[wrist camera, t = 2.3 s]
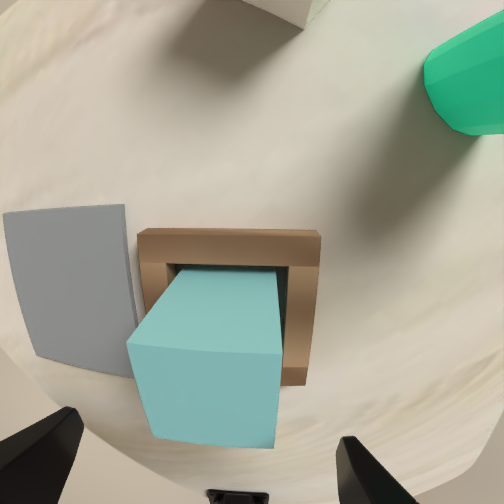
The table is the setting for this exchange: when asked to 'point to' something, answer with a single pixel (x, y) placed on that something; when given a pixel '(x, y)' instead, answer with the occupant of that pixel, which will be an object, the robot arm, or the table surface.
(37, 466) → the robot arm
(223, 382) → the teal rectangular block
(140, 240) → the frame
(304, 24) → the white cube
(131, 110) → the table surface
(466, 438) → the table surface
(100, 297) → the mat
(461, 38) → the candle
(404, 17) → the table surface
